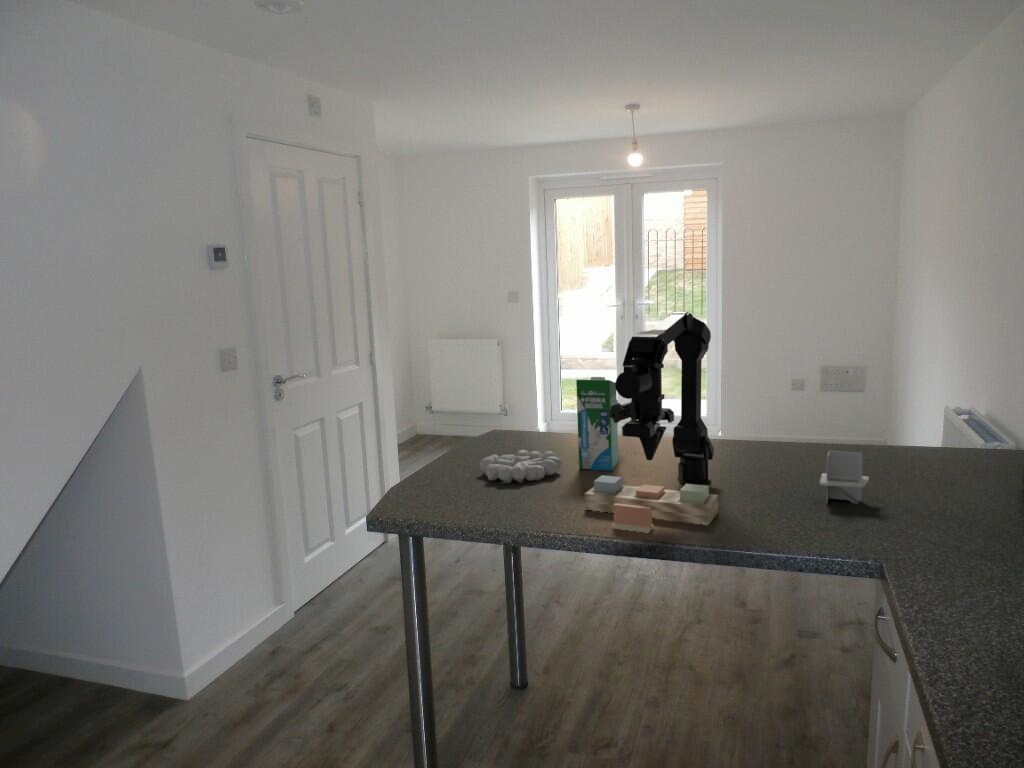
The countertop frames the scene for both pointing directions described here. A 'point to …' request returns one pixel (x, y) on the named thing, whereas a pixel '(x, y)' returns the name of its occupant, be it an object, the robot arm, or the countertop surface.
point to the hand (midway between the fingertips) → (649, 459)
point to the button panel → (656, 505)
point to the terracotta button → (650, 491)
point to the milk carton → (596, 424)
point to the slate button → (608, 484)
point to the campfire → (520, 466)
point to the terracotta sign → (632, 518)
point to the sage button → (694, 493)
